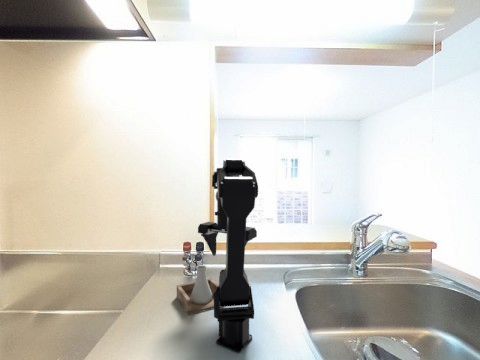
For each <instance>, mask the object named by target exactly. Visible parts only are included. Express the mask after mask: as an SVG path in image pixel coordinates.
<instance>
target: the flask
mask: <svg viewBox="0 0 480 360" xmlns="http://www.w3.org/2000/svg"><path fill="white" fill-rule="evenodd" d="M195 267H196V268H195V269H196V279H195V281H194V282H195V285H194V288H193V291H192V294H191V297H190V299H191V302H193V303H196V304H205V303H208V302H209V301H211V300H212V298H213V294H212V292H211V289H210V286H209V284H208V281H207V279H208V278H207V273H206V269H207V265H201V264H199V265H197V266H195Z"/></svg>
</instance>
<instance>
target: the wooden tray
mask: <svg viewBox="0 0 480 360" xmlns="http://www.w3.org/2000/svg"><path fill="white" fill-rule="evenodd" d="M207 281H208V284H209V286H210V289H211V292H212V294H213V298H212V300H211V301H209V302H208V303H205V304H196V303H193V302H191V299H190V297H191V294H192V291H193V288H194V285H195V282H196V281H193V282H188V283H184V284H180V285H179V284H178V285H176V298H177V300H178V301H179V302H180V304H181V306H182V307H183V309H184V310H185V312H186V314H187V315H188V316H189V315H194V314H197V313H198V314H199V313H201V312H205V311H208V310H211V309H214V292H215V290H216V286H219V283H218V282H216V281H215V280H214V279H213V278H212V277H211V278H207ZM219 303H220V302H219Z"/></svg>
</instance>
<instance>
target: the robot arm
mask: <svg viewBox="0 0 480 360" xmlns="http://www.w3.org/2000/svg"><path fill="white" fill-rule="evenodd" d="M211 176H212V177H211V188H213V189H214V190H217V191H216V193H215V200H216V201H217V202H216V207H217V208H216V209H217V210H216V211H215V212H214V216H216V217H217V220H216V221H217V222H212V221H206V222H203V223H199V224H198V227H197V233H198V234H200V236H201V237H203V239H204V240H205V242H206V244H207V246H208V248H209V250H210V253H211V255H212V256H213V257H215V256H216V255H217V237H218V234H219V233H221V234H226V243H225V246H226V247H225V248H226V249H225V268H224V269H221V270H220V272H219V277H218V285H219V286H216V290H215V292H214V308H213V317H214V318H215V319H217V321H216V322H218V336H219V337H218V338H217V339H216V341H215V344H217V345H219V346H220V347H221V346H222V347H224V348H226V349H228V350H231V351H233V352H236V353H241V352H242V350H243V349H245V347H246V346H247V344H249V342H250V341H251V340H252V339H253V334H251V333H250V320H251V319H252V320H253V319H255V318H254V317H255V309H254V308H255V307H254V301H253V291H252V287H251V286H252V285H251V284H250V283H249V279H248V275H247V273H246V270H245V253H246V251H245V250H246V246H247V244H248V242H250V241H252V240H253V239H255V238H257V237H258V231H257V230H256V228H255V227H252V226H247V219H248V217H249V215H250V214H251V213H252V211H254V209H255V205H256V198H258V196H259V184H258V181H257V177H256V173H255V172H254V170H252V169H251V168H250V167H249V166H247V165H246V162H245V159H242V158H226V159H223V163H222V167H217V168H216V170H215V171H214V172H213V174H212V175H211ZM219 302H220V303H219Z"/></svg>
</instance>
